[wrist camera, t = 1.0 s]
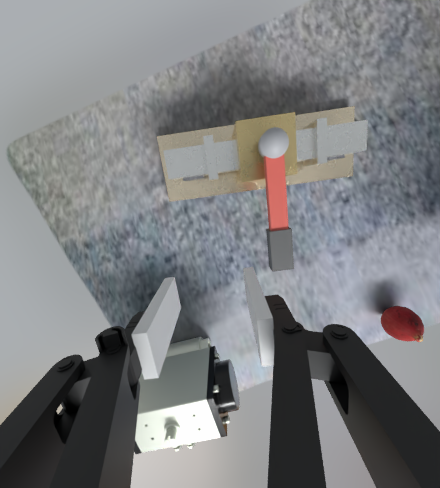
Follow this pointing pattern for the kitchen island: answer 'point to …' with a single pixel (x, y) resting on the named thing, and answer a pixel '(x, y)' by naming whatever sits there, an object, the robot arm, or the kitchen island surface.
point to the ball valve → (186, 398)
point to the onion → (402, 324)
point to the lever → (277, 199)
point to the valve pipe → (249, 159)
